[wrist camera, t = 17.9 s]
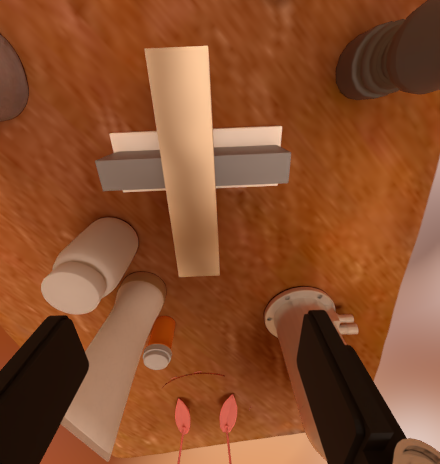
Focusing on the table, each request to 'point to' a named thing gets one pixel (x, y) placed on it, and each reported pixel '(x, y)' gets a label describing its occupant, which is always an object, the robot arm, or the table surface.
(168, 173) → the birch bar
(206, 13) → the table surface
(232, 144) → the ridge stand
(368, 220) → the table surface
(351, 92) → the candle holder
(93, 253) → the toiletry set
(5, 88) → the pillar candle
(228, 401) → the figurine
